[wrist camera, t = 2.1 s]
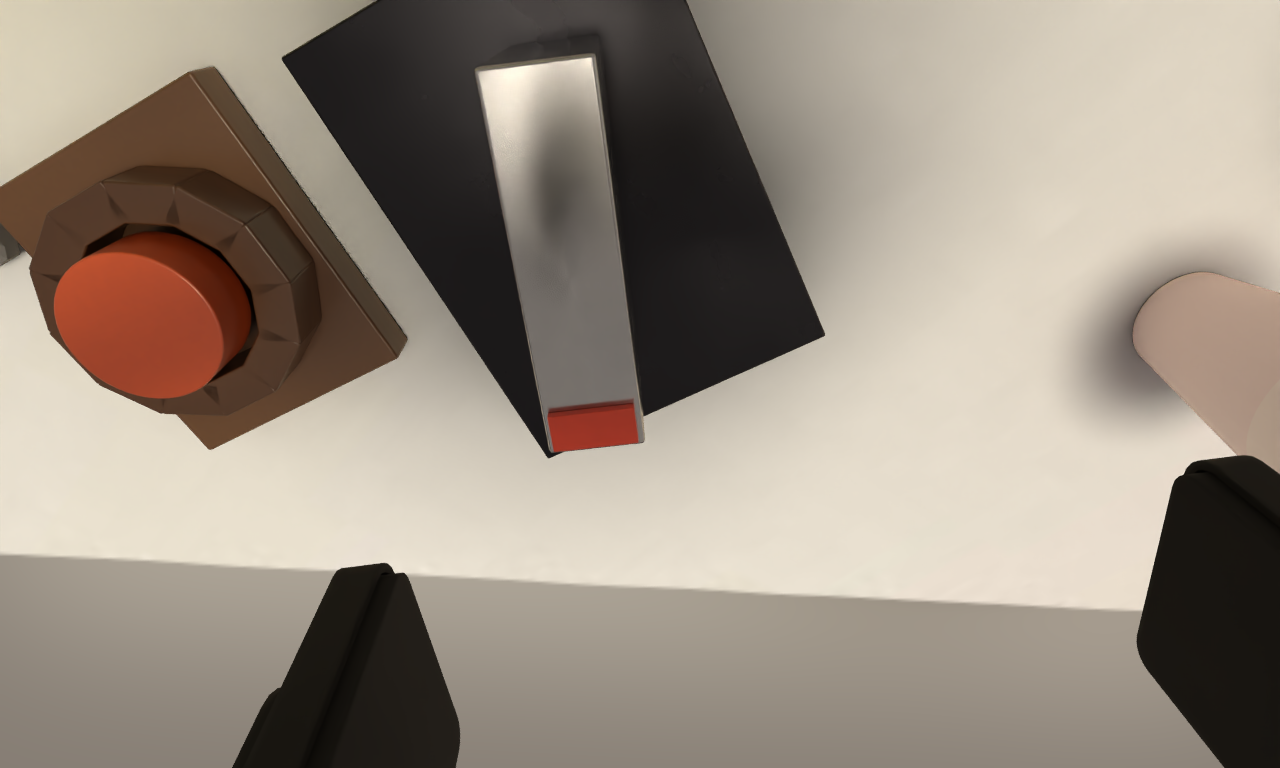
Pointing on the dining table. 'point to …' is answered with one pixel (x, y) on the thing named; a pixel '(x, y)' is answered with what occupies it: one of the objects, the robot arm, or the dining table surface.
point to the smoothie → (1219, 356)
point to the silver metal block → (566, 236)
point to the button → (153, 314)
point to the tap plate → (646, 171)
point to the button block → (210, 247)
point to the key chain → (7, 246)
